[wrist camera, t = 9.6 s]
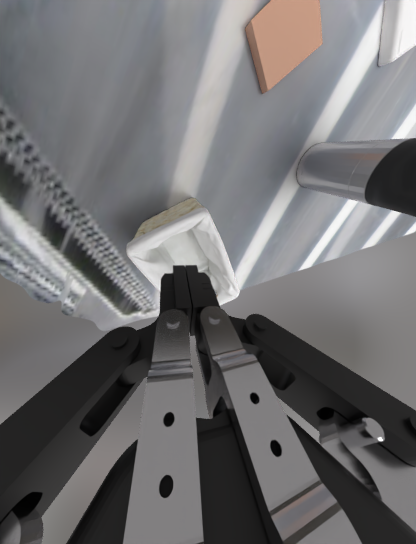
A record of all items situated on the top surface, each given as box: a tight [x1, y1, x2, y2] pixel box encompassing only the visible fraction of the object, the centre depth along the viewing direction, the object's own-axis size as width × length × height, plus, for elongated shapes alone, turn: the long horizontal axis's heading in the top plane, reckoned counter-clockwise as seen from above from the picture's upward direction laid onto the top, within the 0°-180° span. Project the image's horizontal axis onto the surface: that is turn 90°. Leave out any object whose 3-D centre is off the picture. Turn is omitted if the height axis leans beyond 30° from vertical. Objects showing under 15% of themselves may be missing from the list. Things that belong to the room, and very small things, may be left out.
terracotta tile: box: [245, 0, 323, 94], centre depth 25 cm, size 2×8×10 cm
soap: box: [378, 0, 416, 66], centre depth 27 cm, size 9×6×3 cm, turn 30°
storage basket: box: [126, 198, 240, 305], centre depth 39 cm, size 24×16×15 cm
